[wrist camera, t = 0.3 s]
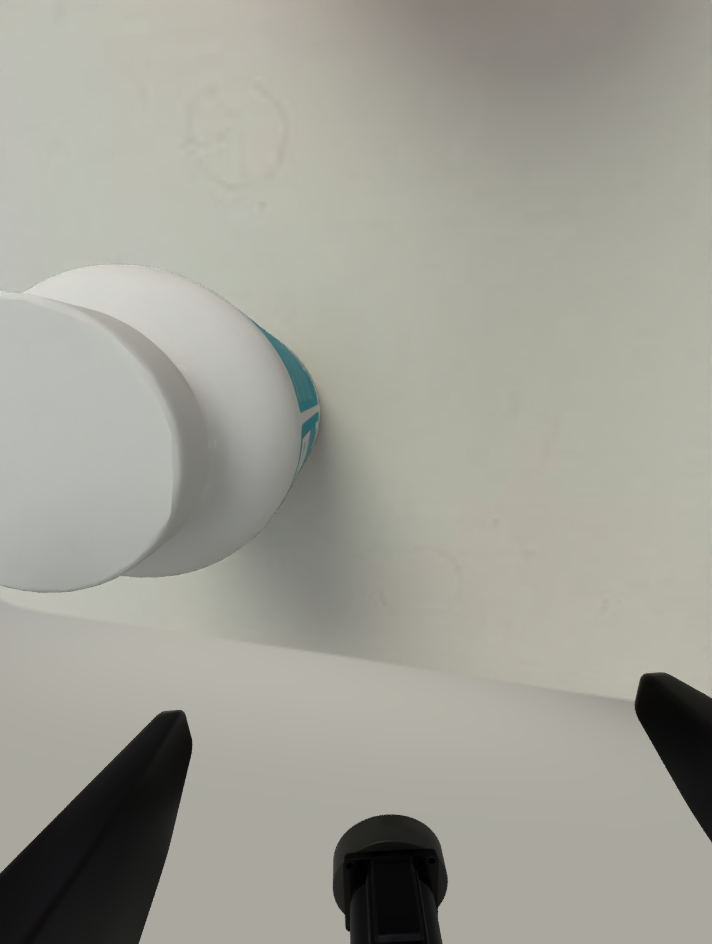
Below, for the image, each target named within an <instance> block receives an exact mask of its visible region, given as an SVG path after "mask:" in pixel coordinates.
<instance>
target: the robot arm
mask: <svg viewBox="0 0 712 944" xmlns="http://www.w3.org/2000/svg"><path fill="white" fill-rule="evenodd" d="M635 711H636V714H637V717H638V719H639V721H640V722H641V724H642V726H643V728H644V729H645V731H646V733H647V735H648V737H649V738H650V740H651V742H652V744H653V745H654V747H655V749H656V751H657V752H658V754H659V756H660V758H661V760H662V761H663V763H664V765H665V767H666V768H667V770H668V772H669V774H670V775H671V777H672V779H673V781H674V782H675V784H676V786H677V788H678V789H679V791H680V793H681V795H682V796H683V798H684V800H685V801H686V803H687V805H688V806H689V808H690V810H691V811H692V813H693V814H694V816H695V818H696V819H697V821H698V822H699V824H700V825H701V827H702V828H703V830H704V831H705V833H706V834H707V836H708V837H709V839H710V840H711V842H712V698H710V697H708V696H707V695H705V694H703V693H701V692H700V691H698V690H696V689H694V688H693V687H691V686H689V685H687V684H685V683H684V682H682V681H680V680H678V679H677V678H675V677H673V676H671V675H669V674H667V673H662V672H659V673H646V674H644V675H642V676H641V678H640V682H639V686H638V691H637V695H636V700H635ZM191 753H192V738H191V734H190V730H189V726H188V723H187V719H186V715H185V713H184V712H183V711H182V710H174V711H164V712H161V713H160V714H158V715H157V716H156V717H155V718H154V719H153V720H152V721H151V722H150V723H149V724H148V725H147V726H146V727H145V728H144V729H143V730H142V731H141V732H140V733H139V734H138V735H137V736H136V737H135V738H134V739H133V740H132V741H131V742H130V743H129V744H128V745H127V746H126V747H125V748H124V749H123V750H122V751H121V752H120V753H119V754H118V755H117V756H116V757H115V758H114V759H113V760H112V761H111V762H110V763H109V764H108V765H107V766H106V767H105V768H104V769H103V770H102V771H101V772H100V773H99V774H98V775H97V776H96V777H95V778H94V779H93V780H92V781H91V782H90V783H89V784H88V785H87V786H86V787H85V789H83V790H82V791H81V792H80V793H79V795H78V796H76V797H75V799H74V800H72V802H71V803H70V804H69V805H68V806H67V807H66V808H65V809H64V810H63V811H62V812H61V813H60V814H59V815H58V816H57V817H56V818H55V819H54V820H53V821H52V822H51V823H50V824H49V825H48V826H47V827H46V828H45V829H44V830H43V831H42V832H41V833H40V834H39V835H38V836H37V837H36V838H35V839H34V840H33V841H32V842H31V843H30V844H29V845H28V846H27V847H26V848H25V849H24V850H23V851H22V852H21V853H20V854H19V855H18V856H17V857H16V858H15V859H14V860H13V861H12V862H11V863H10V864H9V865H8V866H7V867H6V868H5V869H4V870H3V871H2V872H1V873H0V944H139V941H140V938H141V935H142V932H143V929H144V925H145V922H146V919H147V916H148V913H149V910H150V907H151V904H152V901H153V898H154V895H155V892H156V889H157V885H158V883H159V879H160V876H161V873H162V870H163V867H164V863H165V860H166V857H167V853H168V850H169V846H170V842H171V838H172V834H173V829H174V825H175V821H176V817H177V813H178V808H179V804H180V800H181V796H182V791H183V787H184V783H185V779H186V774H187V770H188V766H189V762H190V758H191ZM343 884H344V907H345V928H346V930H347V931H348V932H350V940H351V941H350V943H351V944H442V939H441V933H440V928H439V922H438V884H439V858H438V853H437V851H436V850H435V849H433V848H424V849H407V850H390V851H373V852H355V853H347V854H345V855H344V856H343Z"/></svg>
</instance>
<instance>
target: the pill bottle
mask: <svg viewBox="0 0 712 944" xmlns="http://www.w3.org/2000/svg"><path fill="white" fill-rule="evenodd" d="M319 424H320V403H319V398H318V394H317V390H316V387H315V384H314V382H313V379H312V377H311V375H310V374H309V372H308V370H307V368H306V367H305V366H304V364H303V363H302V362H301V361H300V359H299V358H298V357H297V356H296V355H295V354H294V353H293V352H292V351H291V350H290V349H288V348H287V347H286V346H285V345H284V344H282V343H281V342H280V341H279V340H277V339H276V338H274V337H273V336H272V335H271V334H269V333H268V332H266V331H265V330H264V329H263V328H261V327H260V326H259V325H258V324H256V323H255V322H254V321H253V320H251V319H250V318H249V317H247V316H246V315H245V314H244V313H243V312H241V311H240V310H239V309H237V308H236V307H235V306H233V305H232V304H231V303H230V302H228V301H227V300H225V299H224V298H222V297H221V296H219V295H218V294H216V293H215V292H213V291H211V290H210V289H208V288H206V287H205V286H203V285H201V284H199V283H197V282H195V281H193V280H190V279H188V278H185V277H182V276H180V275H177V274H174V273H172V272H168V271H165V270H160V269H156V268H151V267H147V266H139V265H131V264H102V265H95V266H88V267H82V268H76V269H73V270H69V271H66V272H63V273H60V274H58V275H55V276H52V277H50V278H48V279H46V280H44V281H42V282H40V283H38V284H36V285H35V286H33V287H31V288H30V289H28V290H27V291H25V292H24V293H15V292H0V585H1V586H4V587H8V588H13V589H19V590H24V591H32V592H43V593H48V592H70V591H76V590H81V589H85V588H89V587H93V586H97V585H100V584H103V583H105V582H107V581H110V580H112V579H115V578H117V577H119V576H130V577H164V576H173V575H180V574H184V573H188V572H192V571H196V570H199V569H201V568H204V567H207V566H209V565H212V564H214V563H216V562H219V561H220V560H222V559H224V558H226V557H228V556H230V555H231V554H233V553H234V552H236V551H237V550H239V549H240V548H242V547H243V546H244V545H245V544H247V543H248V542H249V541H251V540H252V539H253V538H254V537H255V536H256V535H257V534H258V533H259V532H260V531H261V530H262V529H263V528H264V527H265V526H266V524H267V523H268V522H269V521H270V519H271V518H272V517H273V515H274V514H275V512H276V511H277V509H278V508H279V506H280V505H281V503H282V501H283V499H284V498H285V496H286V494H287V492H288V491H289V489H290V487H291V485H292V483H293V482H294V480H295V479H296V477H297V475H298V473H299V471H300V469H301V467H302V466H303V464H304V462H305V461H306V459H307V457H308V455H309V453H310V451H311V450H312V447H313V445H314V443H315V440H316V437H317V434H318V430H319Z"/></svg>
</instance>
